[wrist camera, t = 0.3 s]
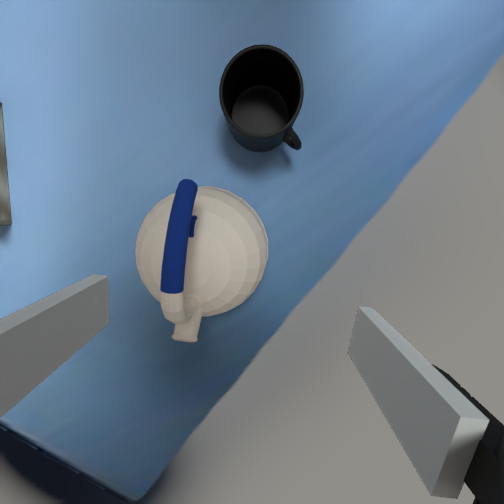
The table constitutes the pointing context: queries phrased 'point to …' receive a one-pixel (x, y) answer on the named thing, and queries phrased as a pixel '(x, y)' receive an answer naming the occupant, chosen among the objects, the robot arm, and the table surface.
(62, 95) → the table surface
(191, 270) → the kettle
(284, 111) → the mug
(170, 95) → the table surface
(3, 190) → the box
